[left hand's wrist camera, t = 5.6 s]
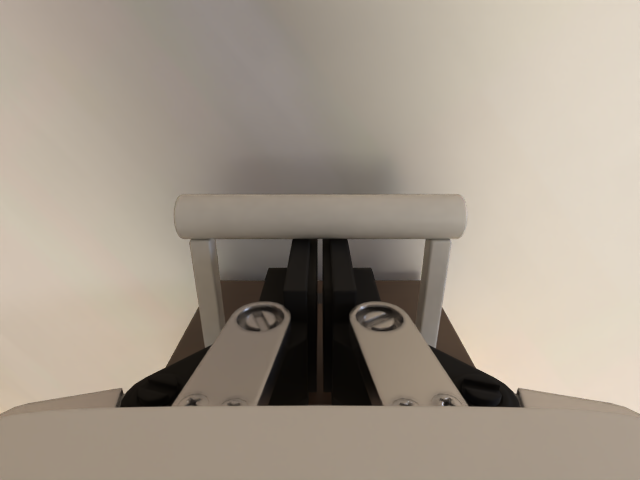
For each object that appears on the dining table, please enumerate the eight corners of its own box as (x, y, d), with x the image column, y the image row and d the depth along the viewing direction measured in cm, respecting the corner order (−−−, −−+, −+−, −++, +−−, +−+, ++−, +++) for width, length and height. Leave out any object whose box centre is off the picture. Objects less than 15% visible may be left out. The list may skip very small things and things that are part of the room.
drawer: (197, 161, 15) (99, 222, 8) (442, 161, 15) (541, 222, 8) (243, 518, 23) (213, 686, 17) (397, 518, 23) (427, 686, 17)
